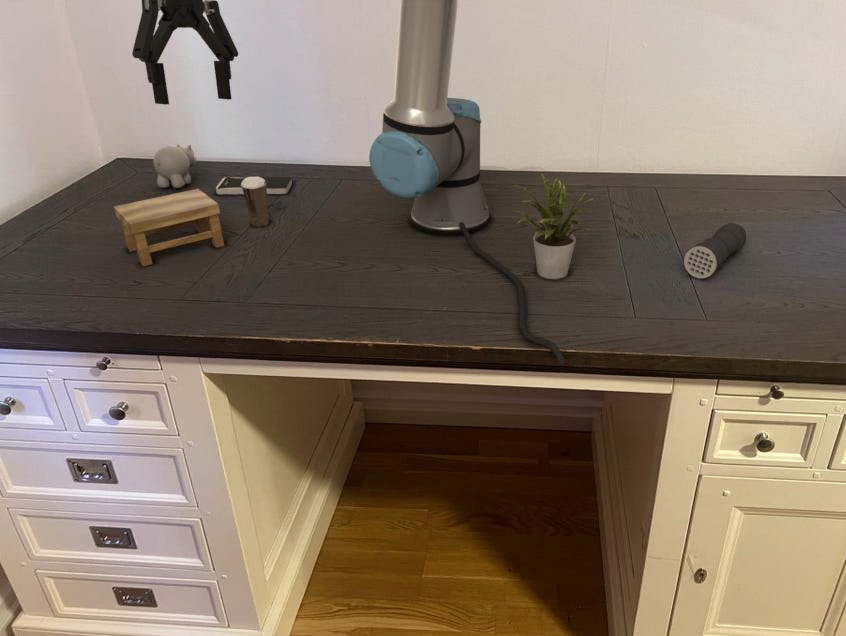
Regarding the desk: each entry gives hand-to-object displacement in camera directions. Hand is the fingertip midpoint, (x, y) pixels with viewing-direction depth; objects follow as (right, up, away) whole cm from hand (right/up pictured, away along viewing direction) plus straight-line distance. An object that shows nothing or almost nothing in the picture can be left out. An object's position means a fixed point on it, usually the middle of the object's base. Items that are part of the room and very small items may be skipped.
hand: (194, 101), depth 128 cm
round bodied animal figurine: (-15, -7, +32) cm, 36 cm away
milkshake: (+9, -20, +12) cm, 25 cm away
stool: (-4, -26, +2) cm, 26 cm away
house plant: (+62, -31, -5) cm, 70 cm away
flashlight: (+92, -30, -3) cm, 97 cm away
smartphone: (+2, -9, +28) cm, 30 cm away
